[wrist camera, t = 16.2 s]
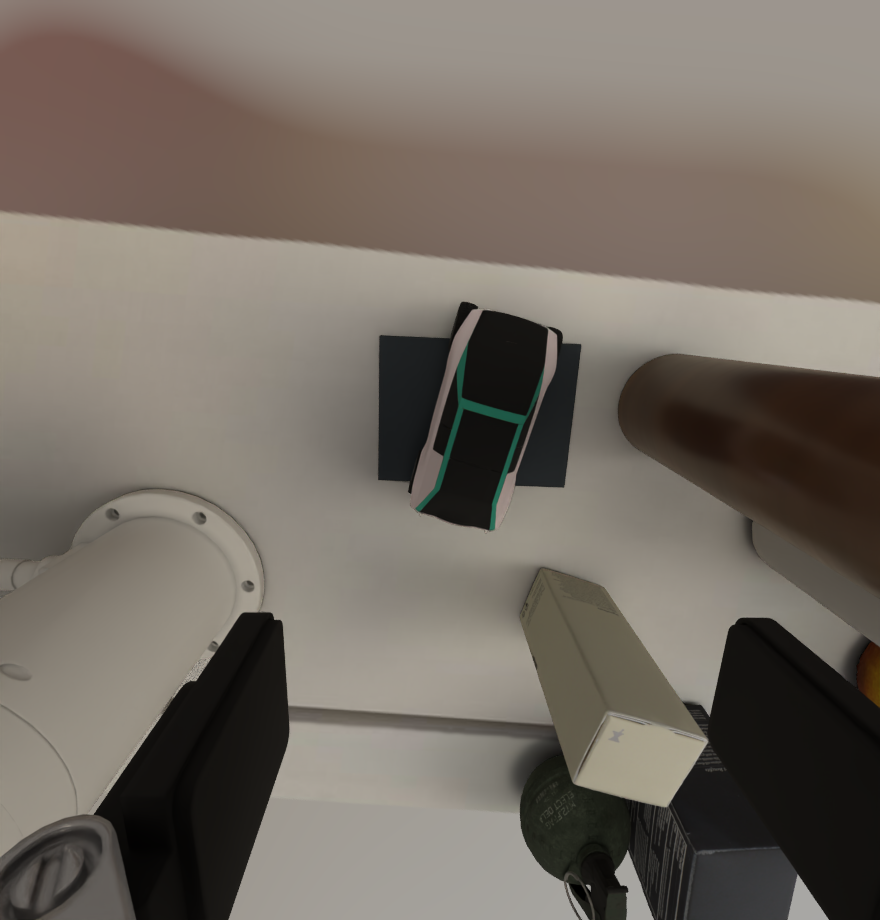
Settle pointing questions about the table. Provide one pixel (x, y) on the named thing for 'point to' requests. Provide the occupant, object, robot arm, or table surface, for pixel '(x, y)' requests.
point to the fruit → (870, 673)
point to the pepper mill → (771, 449)
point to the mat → (415, 396)
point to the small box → (708, 850)
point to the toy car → (483, 417)
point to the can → (820, 582)
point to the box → (607, 694)
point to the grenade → (577, 837)
